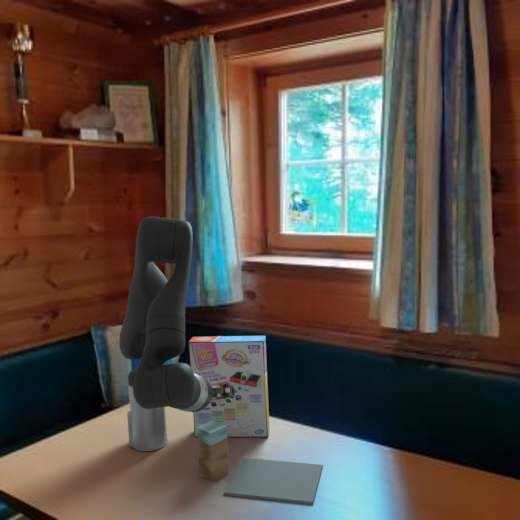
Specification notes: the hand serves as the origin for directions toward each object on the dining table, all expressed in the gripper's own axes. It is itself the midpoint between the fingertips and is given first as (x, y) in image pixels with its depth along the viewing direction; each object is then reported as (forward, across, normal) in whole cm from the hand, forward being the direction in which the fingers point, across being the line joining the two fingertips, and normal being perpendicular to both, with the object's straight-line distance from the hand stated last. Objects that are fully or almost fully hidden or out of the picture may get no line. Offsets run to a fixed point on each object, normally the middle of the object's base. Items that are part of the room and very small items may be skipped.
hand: (207, 396), depth 126 cm
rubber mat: (+10, -12, +20) cm, 25 cm away
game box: (+32, +1, +8) cm, 33 cm away
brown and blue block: (+12, +2, +17) cm, 21 cm away
